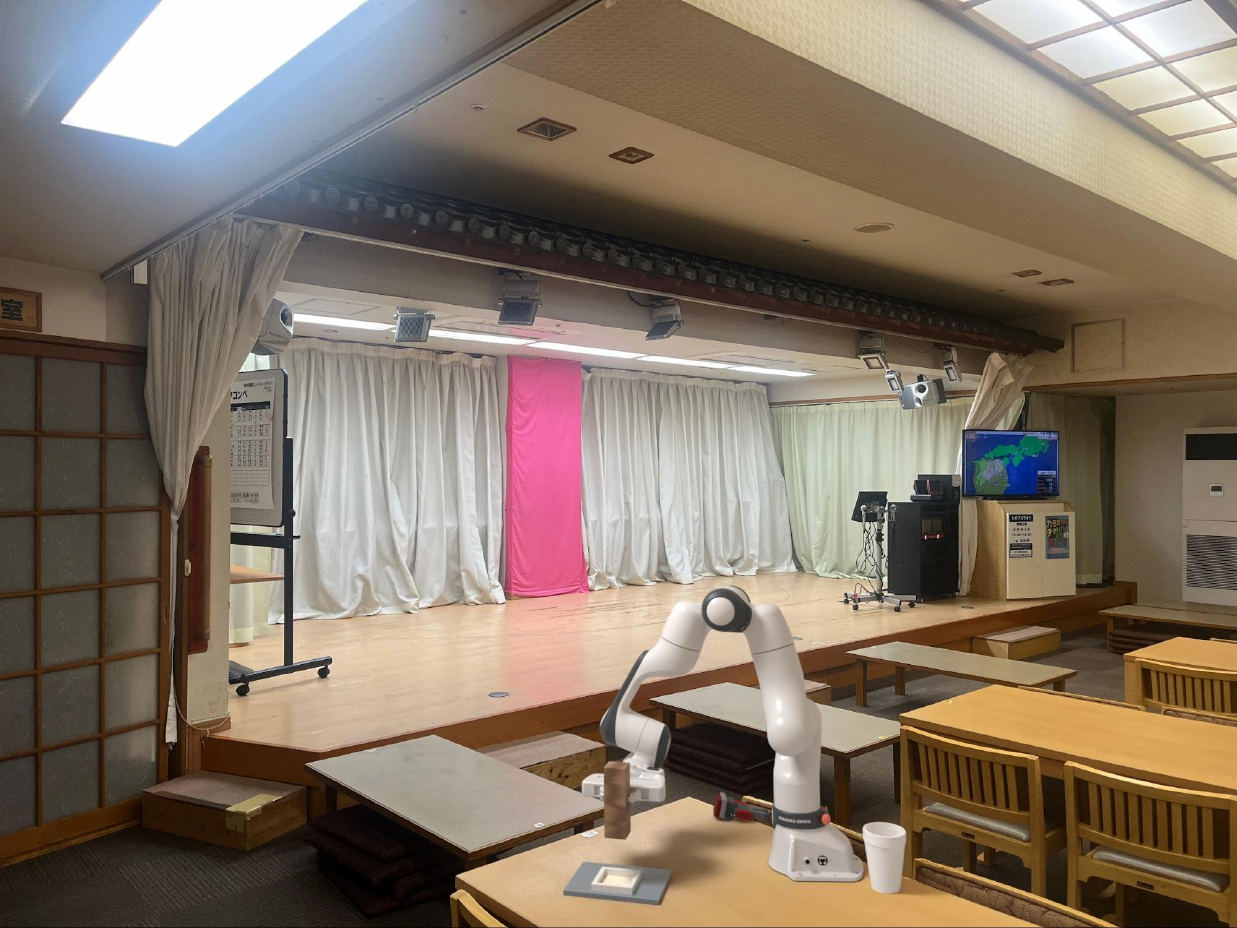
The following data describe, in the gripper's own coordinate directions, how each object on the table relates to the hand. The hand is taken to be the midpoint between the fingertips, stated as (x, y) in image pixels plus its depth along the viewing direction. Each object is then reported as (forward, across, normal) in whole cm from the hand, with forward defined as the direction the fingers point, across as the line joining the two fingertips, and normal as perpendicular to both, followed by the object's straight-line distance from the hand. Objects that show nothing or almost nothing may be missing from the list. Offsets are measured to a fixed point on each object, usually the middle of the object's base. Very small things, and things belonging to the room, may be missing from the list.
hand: (616, 798), depth 199 cm
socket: (+1, 0, +20) cm, 20 cm away
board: (-1, 0, +20) cm, 20 cm away
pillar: (-1, 0, +8) cm, 9 cm away
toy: (-50, +23, +21) cm, 58 cm away
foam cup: (-14, +60, +20) cm, 65 cm away
